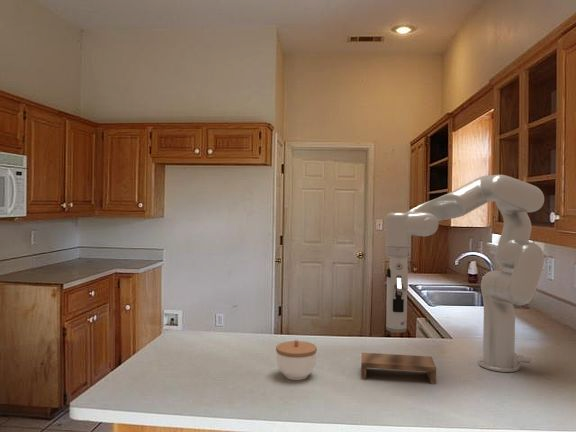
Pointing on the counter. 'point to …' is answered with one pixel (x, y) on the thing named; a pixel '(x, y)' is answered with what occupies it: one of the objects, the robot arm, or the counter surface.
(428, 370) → the riser shelf
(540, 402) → the counter surface
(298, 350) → the lidded bowl
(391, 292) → the travel mug
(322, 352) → the counter surface
